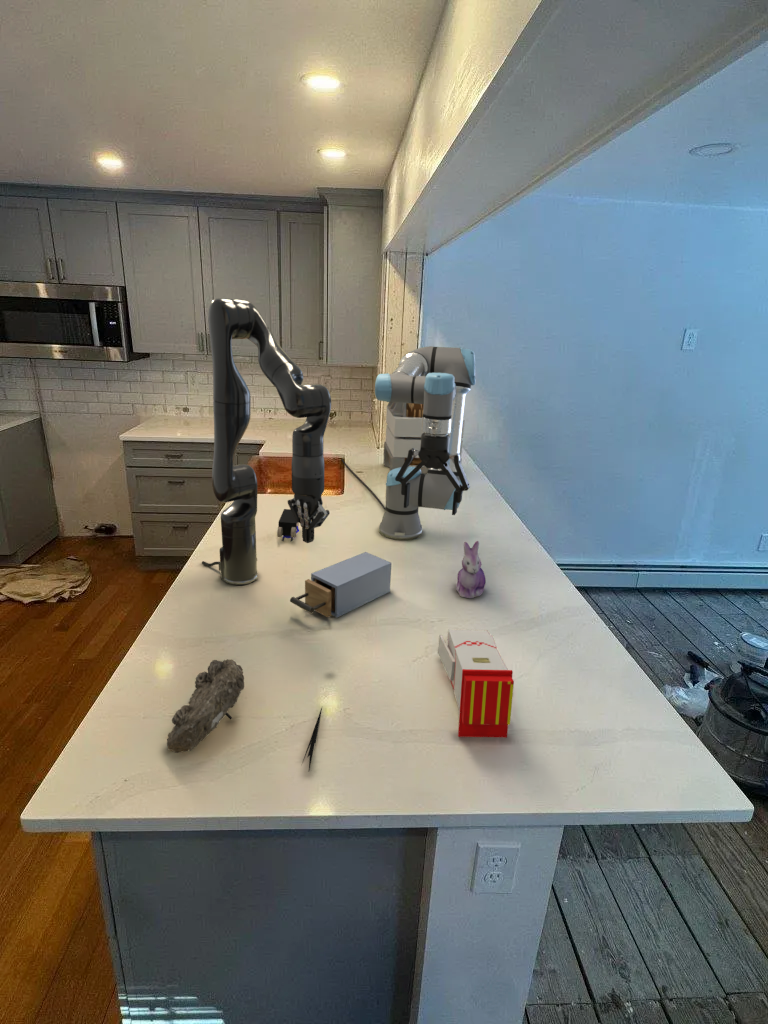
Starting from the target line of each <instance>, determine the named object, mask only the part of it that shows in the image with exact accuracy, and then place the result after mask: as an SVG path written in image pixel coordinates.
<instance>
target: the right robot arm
mask: <svg viewBox="0 0 768 1024" xmlns="http://www.w3.org/2000/svg"><path fill="white" fill-rule="evenodd" d="M475 354H476V353H475V351H474V350H473V349H471V348H465V347H449V346H448V347H447V346H434V345H433V346H423V347H418V348H416V349H413V350H410V351H409V352H407V353H405V354H404V355H403V356H402V357H401V358H400V360H399V364H398V366H397V367H396V369H394V371H393V372H392V373H388V372H387V373H379V374H378V375H377V376H376V378H375V384H374V396H375V399H376V400H377V401H380V402H386V403H389V402H399V403H414V404H424V406H423V417H422V432H424V433H423V434H422V435H421V448H420V451H418V450H415V449H414V448H412V449H410V450H409V451H408V457H407V459H406V461H405V462H404V464H403V466H402V467H400V468H396V469H393V470H391V471H390V470H389V472H388V473H387V475H386V482H385V504H384V503H382V501H381V500H380V498H378V496H377V495H376V494H375V493H374V492H373V490H371V488H369V486H368V485H367V484H366V483H365V482H364V481H363V480H362V479H361V478H360V477H359V476H358V475H357V474H356V473H355V472H354V471H353V470H352V469H351V468H350V466H349V465H347V463H346V462H345V460H344V459H343V458H341V462H342V463H343V465H344V466H345V467H346V468H347V470H348V471H349V472H350V473H351V474H352V475H353V476H354V477H355V478H356V479H357V480H358V481H359V482H360V483H361V484H362V485H363V486H364V487H365V488H366V489H367V490H368V491H369V492H370V494H372V496H373V497H374V498H375V499H376V501H377V502H378V503H379V504H380V506H381V507H382V509H383V510H384V513H383V515H382V519H381V522H379V525H378V533H379V534H380V535H381V536H382V537H385V538H387V539H389V540H395V541H410V540H415V539H418V538H420V537H421V536H422V535H423V525H422V524H421V518H420V515H419V508H427V509H436V510H443V511H447V510H448V511H451V515H452V516H456V514H457V512H458V509H459V508H460V504H461V502H462V500H463V493H464V492H467V491H468V490H470V488H471V485H470V483H469V482H470V481H469V480H468V477H467V474H466V472H465V470H464V467H463V464H462V462H461V459H460V454H459V453H460V443H461V440H462V438H461V433H462V423H463V419H464V412H465V403H466V402H465V401H466V395H467V394H468V393H469V392H470V391H471V389H472V386H475V385H476V355H475ZM417 455H418V456H419V458H420V459H421V462H420V463H419V464H418V465H417V466H409V465H410V463H411V461H412V460H413V458H415V457H416V456H417ZM423 467H425V468H426V469H427V473H423V472H422V468H423Z"/></svg>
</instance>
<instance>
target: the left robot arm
mask: <svg viewBox="0 0 768 1024" xmlns="http://www.w3.org/2000/svg"><path fill="white" fill-rule="evenodd" d="M207 315H208V319H207V321H208V332H209V343H210V352H211V362H212V412H213V415H212V416H213V455H212V458H213V460H212V466H211V467H212V468H211V469H212V470H211V487H212V492H213V494H214V496H215V498H216V499H217V500H218V501H219V502H220V503H230V502H232V503H231V504H230V505H228V506H227V507H226V508H225V509H224V510H223V511H221V513H220V530H221V544H222V546H221V547H220V548H219V561H214V562H211V563H208V562H207V561H203V560H202V561H201V564H202V565H204V566H205V567H213V566H215V565H218V571H220V579H221V580H222V581H224V582H225V583H227V584H229V585H233V586H234V585H235V586H241V585H248V584H251V583H253V582H255V581H256V580H257V579H258V577H259V576H258V556H257V532H256V529H257V528H256V515H257V513H258V491H259V490H258V489H259V488H258V487H259V486H258V478H257V474H256V471H255V470H254V468H253V467H252V466H251V465H249V464H247V463H240V464H235V465H234V458H235V453H236V450H237V449H238V448H237V447H238V446H239V443H240V442H241V440H242V438H243V436H244V434H245V433H246V431H247V429H248V426H249V425H250V420H251V414H252V413H251V409H252V407H251V403H252V402H251V399H252V398H251V392H250V389H249V387H248V385H247V383H246V381H245V379H244V378H243V376H242V374H241V372H240V371H239V369H238V368H237V365H236V364H235V360H234V356H233V355H234V354H233V347H232V346H233V345H232V340H249V341H250V342H251V343H252V344H254V345H255V347H256V348H257V361H258V362H257V363H258V365H259V369H260V370H261V372H262V373H263V375H264V376H265V377H266V378H267V380H268V381H269V382H270V383H271V384H272V385H273V387H274V388H275V389H276V392H277V394H278V396H279V398H280V401H281V404H282V406H283V408H284V410H285V411H286V413H287V414H289V415H290V416H291V417H293V418H295V419H304V418H305V420H304V423H303V424H302V425H300V426H297V427H296V428H294V430H293V431H292V435H291V436H292V438H291V441H292V442H291V446H292V455H291V456H292V457H291V492H292V493H293V498H292V499H288V500H287V505H288V507H289V509H291V511H292V514H293V516H294V518H295V520H296V522H297V523H299V525H300V527H301V538H302V542H304V543H306V544H310V543H312V542H314V540H315V529H317V528H319V527H321V526H322V525H323V523H324V522H326V519H328V517H329V515H330V510H329V509H325V507H324V506H323V504H324V502H323V499H322V495H323V493H324V492H325V456H324V436H325V432H326V429H327V425H328V422H329V418H330V414H331V409H332V396H331V394H330V391H329V389H328V388H327V387H326V386H325V385H323V384H322V383H311V384H303V382H304V374H303V373H304V372H303V371H302V369H301V368H300V367H299V365H297V363H296V362H295V361H294V360H293V359H292V358H291V357H290V356H289V355H288V353H286V351H285V350H284V349H283V348H282V346H281V345H280V344H279V342H278V341H277V339H276V337H275V336H274V334H273V332H272V330H271V329H270V327H269V325H268V324H267V322H266V321H265V318H264V317H263V316H262V314H261V313H260V311H259V309H258V308H257V307H256V306H255V304H254V303H252V302H251V301H250V300H247V299H240V298H222V297H221V298H219V297H218V298H215V299H213V300H212V301H211V302H210V304H209V308H208V314H207ZM297 513H298V514H297Z"/></svg>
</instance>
